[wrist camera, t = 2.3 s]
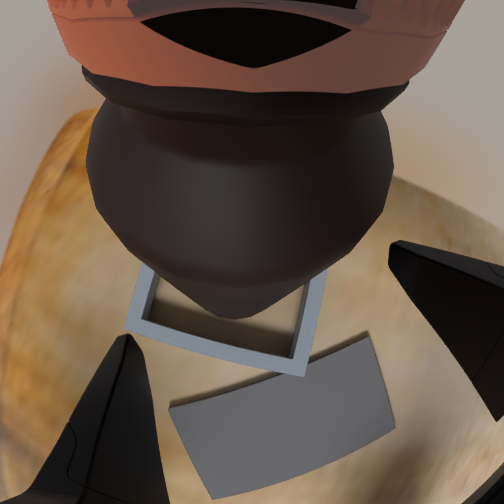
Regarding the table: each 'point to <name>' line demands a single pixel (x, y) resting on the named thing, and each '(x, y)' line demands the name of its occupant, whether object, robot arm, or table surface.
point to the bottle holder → (225, 351)
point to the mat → (286, 422)
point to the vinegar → (245, 131)
